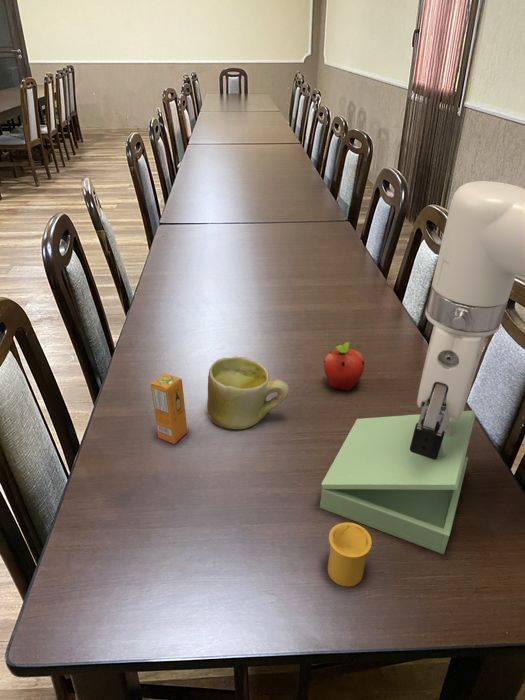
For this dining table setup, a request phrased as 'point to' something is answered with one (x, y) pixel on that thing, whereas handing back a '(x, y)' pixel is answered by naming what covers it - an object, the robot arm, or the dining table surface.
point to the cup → (348, 553)
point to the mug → (241, 392)
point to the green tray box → (400, 511)
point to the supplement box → (169, 407)
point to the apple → (343, 367)
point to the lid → (399, 456)
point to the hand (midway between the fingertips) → (428, 438)
